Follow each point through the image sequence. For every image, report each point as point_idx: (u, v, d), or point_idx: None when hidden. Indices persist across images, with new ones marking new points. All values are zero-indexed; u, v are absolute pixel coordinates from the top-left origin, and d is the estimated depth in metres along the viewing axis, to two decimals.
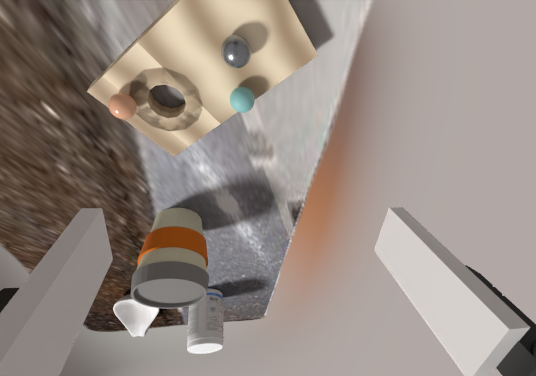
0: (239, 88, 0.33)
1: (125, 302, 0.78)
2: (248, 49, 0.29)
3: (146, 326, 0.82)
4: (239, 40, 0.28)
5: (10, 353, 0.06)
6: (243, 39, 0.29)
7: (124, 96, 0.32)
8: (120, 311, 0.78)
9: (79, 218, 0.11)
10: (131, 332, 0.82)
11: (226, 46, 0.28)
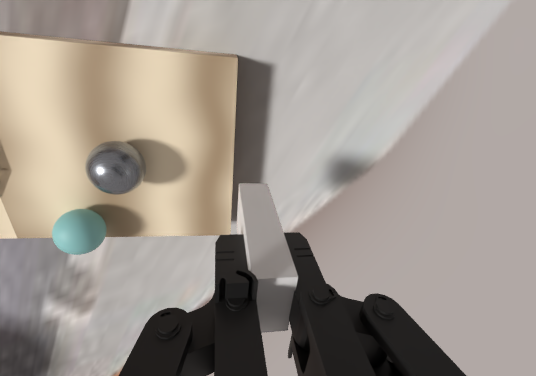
0: (87, 214, 0.18)
1: None
2: (138, 178, 0.16)
3: None
4: (132, 158, 0.16)
5: None
6: (140, 161, 0.16)
7: None
8: None
9: (244, 189, 0.14)
10: None
11: (103, 153, 0.15)
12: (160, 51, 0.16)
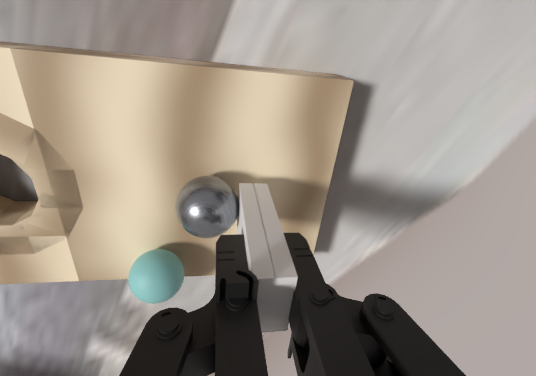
0: (167, 257, 0.16)
1: None
2: (233, 220, 0.14)
3: None
4: (230, 198, 0.14)
5: None
6: (236, 200, 0.14)
7: None
8: None
9: (244, 189, 0.14)
10: None
11: (200, 193, 0.13)
12: (270, 73, 0.13)
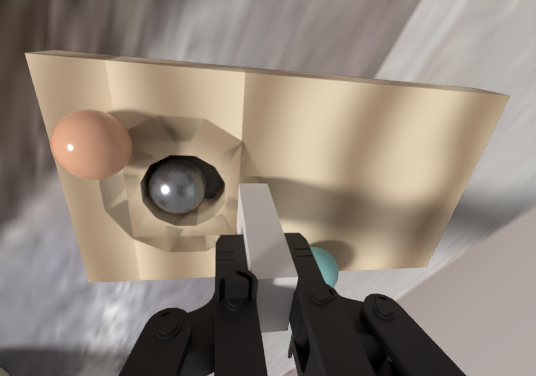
0: (328, 254, 0.17)
1: None
2: (179, 205, 0.15)
3: None
4: (178, 183, 0.15)
5: None
6: (188, 188, 0.15)
7: (123, 132, 0.12)
8: None
9: (244, 189, 0.14)
10: None
11: (159, 168, 0.15)
12: (443, 90, 0.15)
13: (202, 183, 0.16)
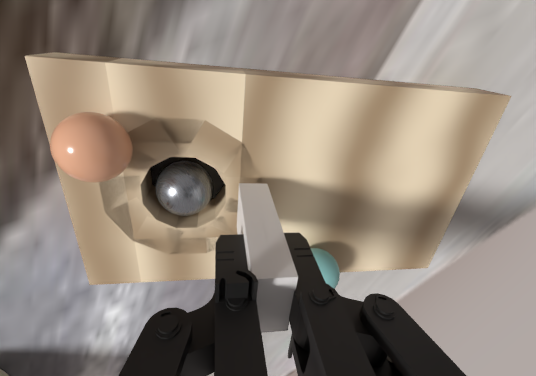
0: (329, 255, 0.17)
1: None
2: (193, 206, 0.15)
3: None
4: (191, 184, 0.15)
5: None
6: (200, 189, 0.15)
7: (123, 135, 0.12)
8: None
9: (244, 189, 0.14)
10: None
11: (168, 172, 0.15)
12: (444, 91, 0.15)
13: (211, 182, 0.16)
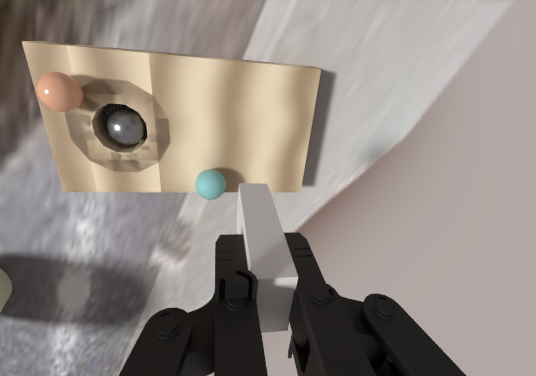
0: (217, 172, 0.27)
1: None
2: (134, 135, 0.25)
3: None
4: (131, 121, 0.25)
5: None
6: (137, 124, 0.25)
7: (76, 85, 0.22)
8: None
9: (244, 189, 0.14)
10: None
11: (115, 115, 0.25)
12: (275, 65, 0.25)
13: (143, 122, 0.26)
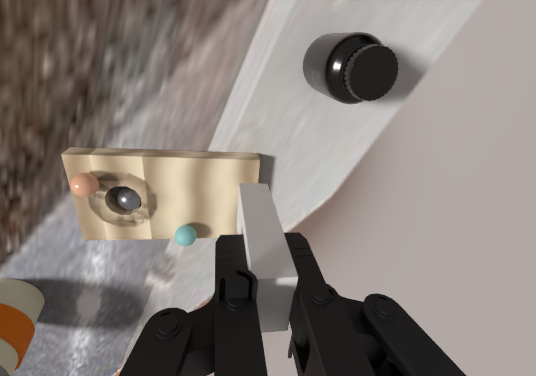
0: (190, 227, 0.39)
1: None
2: (137, 204, 0.38)
3: None
4: (135, 195, 0.37)
5: None
6: (139, 196, 0.38)
7: (95, 180, 0.34)
8: None
9: (244, 189, 0.14)
10: None
11: (124, 192, 0.37)
12: (228, 159, 0.37)
13: None
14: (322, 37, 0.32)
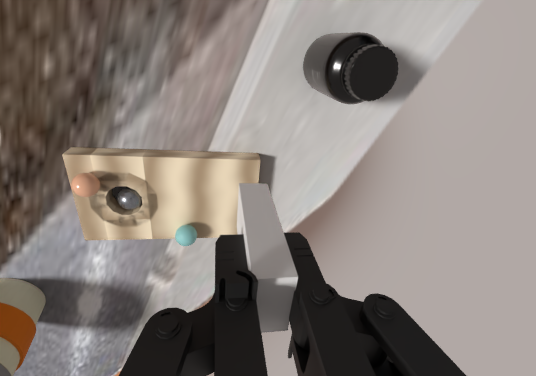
0: (190, 227, 0.40)
1: None
2: (137, 204, 0.38)
3: None
4: (135, 195, 0.37)
5: None
6: (139, 196, 0.38)
7: (96, 180, 0.34)
8: None
9: (244, 189, 0.14)
10: None
11: (124, 192, 0.37)
12: (228, 159, 0.37)
13: None
14: (322, 37, 0.32)
